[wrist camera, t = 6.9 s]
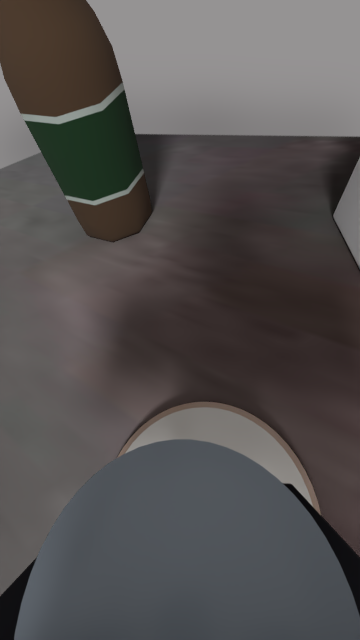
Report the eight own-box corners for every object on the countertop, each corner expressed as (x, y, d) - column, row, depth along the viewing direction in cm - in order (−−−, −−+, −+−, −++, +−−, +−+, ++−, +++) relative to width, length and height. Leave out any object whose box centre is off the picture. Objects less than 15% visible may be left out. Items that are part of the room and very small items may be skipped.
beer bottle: (88, 197, 31) (-169, -369, 10) (155, 190, 30) (25, -437, 9) (74, 247, 27) (-384, -498, 6) (151, 241, 26) (-86, -632, 6)
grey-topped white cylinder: (277, 551, 12) (483, 799, 3) (182, 611, 12) (45, 1179, 2) (223, 447, 15) (239, 393, 5) (142, 491, 14) (-7, 522, 5)
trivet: (361, 667, 12) (375, 686, 11) (93, 682, 12) (83, 701, 11) (285, 393, 18) (289, 388, 17) (107, 413, 19) (101, 410, 17)
